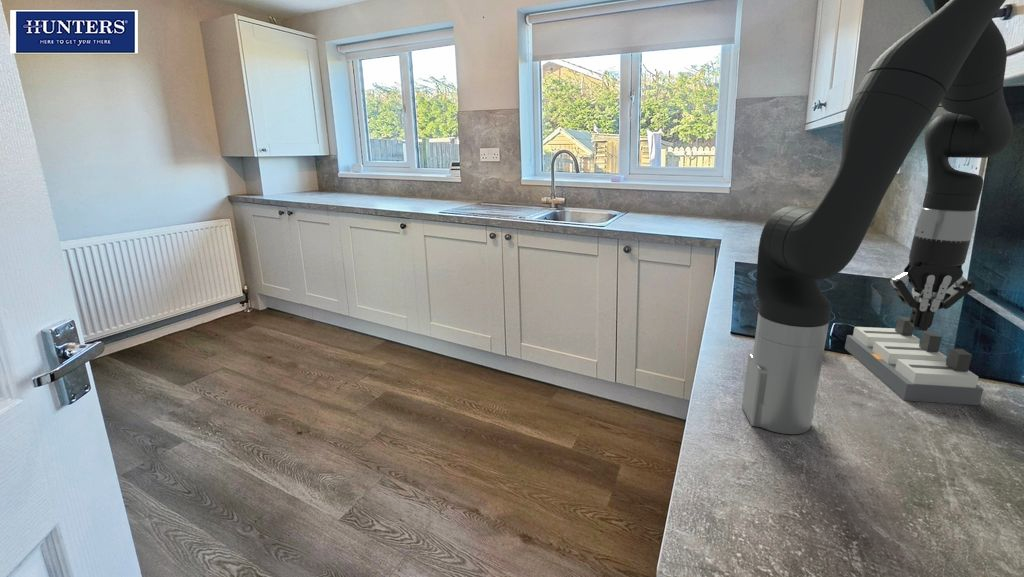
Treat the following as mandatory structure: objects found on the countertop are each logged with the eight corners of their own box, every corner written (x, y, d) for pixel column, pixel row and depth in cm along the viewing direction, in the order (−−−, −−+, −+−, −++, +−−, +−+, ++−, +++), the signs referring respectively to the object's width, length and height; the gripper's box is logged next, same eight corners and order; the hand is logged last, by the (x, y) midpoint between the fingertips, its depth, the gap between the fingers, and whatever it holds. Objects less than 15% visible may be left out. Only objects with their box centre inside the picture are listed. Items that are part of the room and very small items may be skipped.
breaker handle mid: (926, 351, 89) (930, 336, 88) (918, 346, 92) (922, 331, 91) (938, 352, 89) (941, 336, 88) (929, 346, 91) (933, 331, 90)
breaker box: (903, 400, 83) (909, 372, 82) (844, 348, 104) (848, 325, 102) (978, 405, 81) (986, 377, 79) (903, 351, 102) (908, 328, 100)
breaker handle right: (955, 370, 82) (959, 354, 81) (945, 364, 84) (950, 348, 83) (967, 371, 81) (972, 354, 81) (958, 365, 84) (962, 349, 83)
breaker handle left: (901, 335, 97) (904, 320, 96) (894, 330, 99) (897, 316, 98) (911, 335, 97) (915, 321, 96) (904, 331, 99) (908, 317, 98)
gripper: (911, 238, 83) (889, 334, 87) (1002, 240, 80) (975, 339, 85) (887, 230, 90) (868, 320, 95) (970, 232, 87) (946, 324, 92)
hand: (919, 329), depth 90 cm, fingers closed
